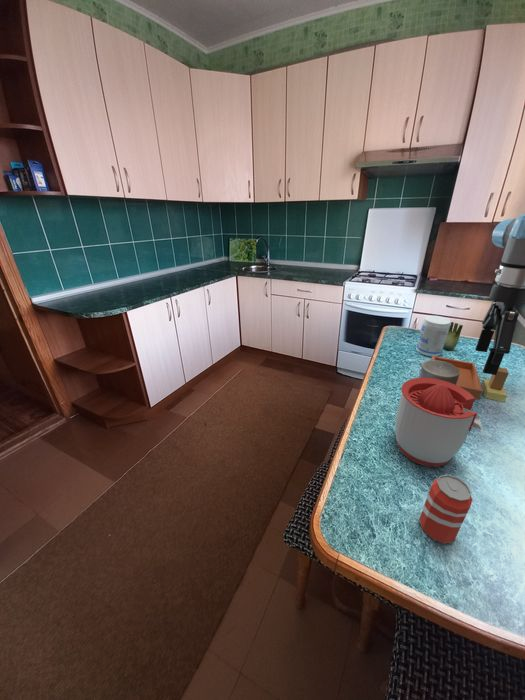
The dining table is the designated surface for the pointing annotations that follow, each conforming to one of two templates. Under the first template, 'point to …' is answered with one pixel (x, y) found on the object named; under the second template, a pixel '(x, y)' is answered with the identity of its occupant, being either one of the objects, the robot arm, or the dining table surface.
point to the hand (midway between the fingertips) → (484, 361)
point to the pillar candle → (439, 371)
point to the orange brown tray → (466, 376)
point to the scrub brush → (495, 386)
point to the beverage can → (445, 508)
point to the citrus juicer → (433, 420)
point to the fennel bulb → (452, 336)
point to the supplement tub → (433, 335)
